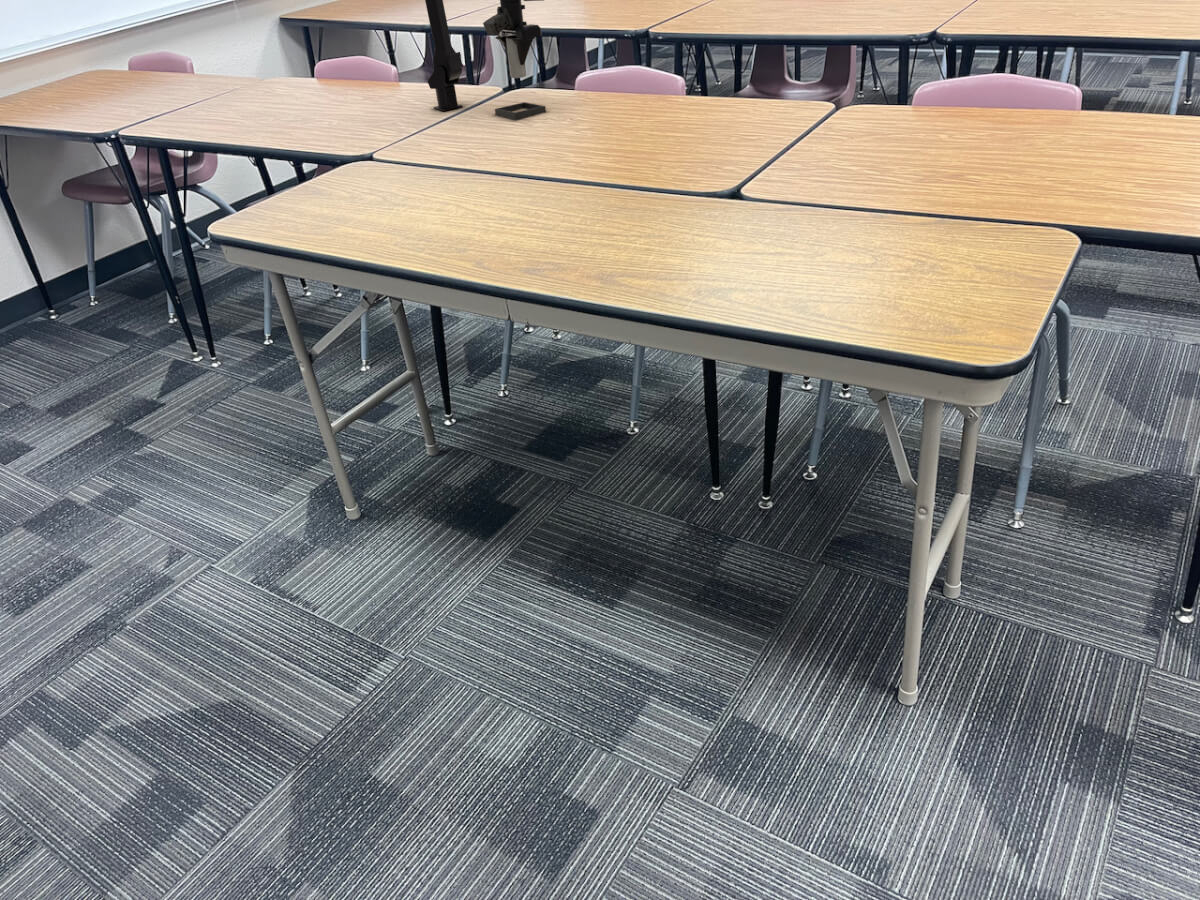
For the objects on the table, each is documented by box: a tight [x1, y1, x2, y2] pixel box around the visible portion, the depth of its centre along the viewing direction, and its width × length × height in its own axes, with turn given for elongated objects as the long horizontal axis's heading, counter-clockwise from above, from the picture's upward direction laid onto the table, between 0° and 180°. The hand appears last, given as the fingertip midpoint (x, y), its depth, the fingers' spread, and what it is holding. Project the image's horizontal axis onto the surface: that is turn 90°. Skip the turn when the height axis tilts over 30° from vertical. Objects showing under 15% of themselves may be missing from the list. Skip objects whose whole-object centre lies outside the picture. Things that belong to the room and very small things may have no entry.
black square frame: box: [494, 101, 547, 121], centre depth 241 cm, size 10×10×2 cm
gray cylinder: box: [506, 34, 527, 79], centre depth 237 cm, size 4×4×10 cm
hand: (517, 64), depth 238 cm, fingers closed on gray cylinder, 4 cm apart
